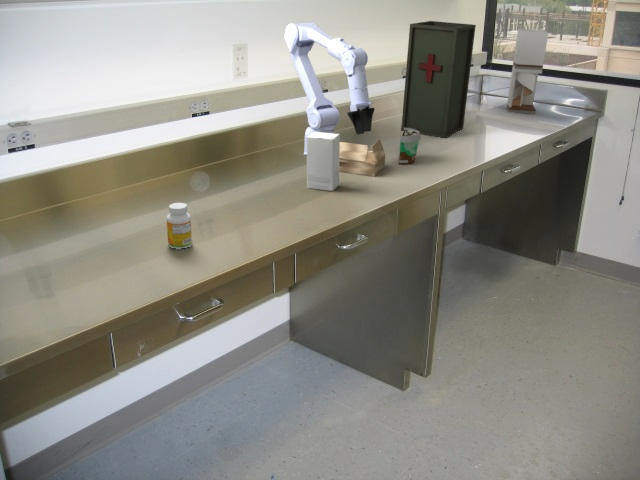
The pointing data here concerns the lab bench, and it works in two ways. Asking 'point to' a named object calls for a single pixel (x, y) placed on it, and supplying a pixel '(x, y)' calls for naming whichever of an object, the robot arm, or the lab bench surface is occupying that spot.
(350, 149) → the flap
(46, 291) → the lab bench surface
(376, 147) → the flap
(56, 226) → the lab bench surface
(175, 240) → the supplement bottle
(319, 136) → the skincare box
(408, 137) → the food container
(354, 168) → the carton
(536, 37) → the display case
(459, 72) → the first aid box
